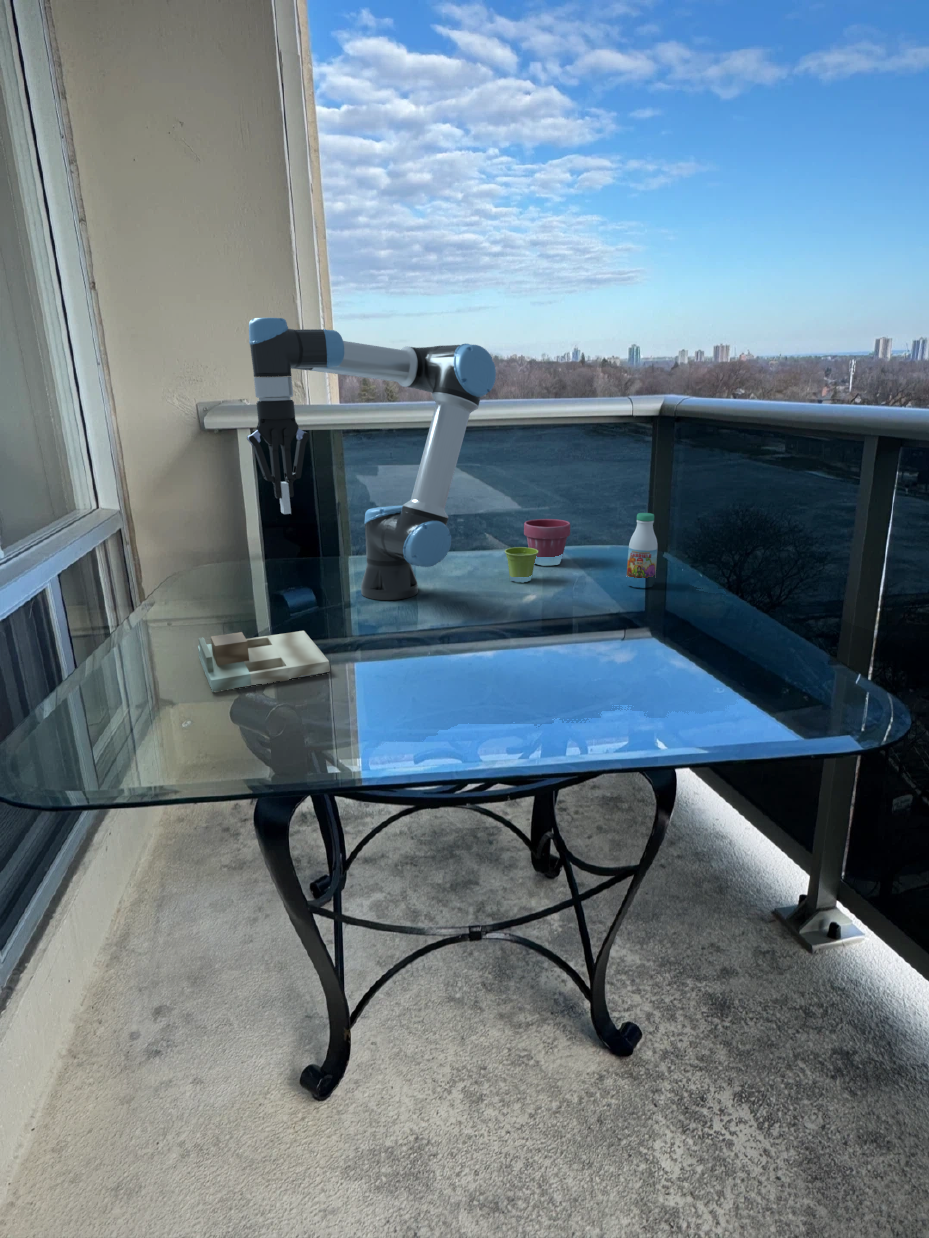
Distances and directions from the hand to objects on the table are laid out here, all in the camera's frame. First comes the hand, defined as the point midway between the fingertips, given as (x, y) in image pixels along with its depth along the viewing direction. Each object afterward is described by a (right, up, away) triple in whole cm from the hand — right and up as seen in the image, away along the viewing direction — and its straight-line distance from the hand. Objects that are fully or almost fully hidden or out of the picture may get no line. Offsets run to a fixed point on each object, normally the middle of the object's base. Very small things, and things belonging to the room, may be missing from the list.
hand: (286, 512), depth 159 cm
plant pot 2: (+64, -6, +70) cm, 95 cm away
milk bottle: (+87, -14, +45) cm, 99 cm away
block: (-7, -31, -14) cm, 35 cm away
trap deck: (-2, -32, -11) cm, 34 cm away
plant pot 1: (+54, -12, +50) cm, 75 cm away
